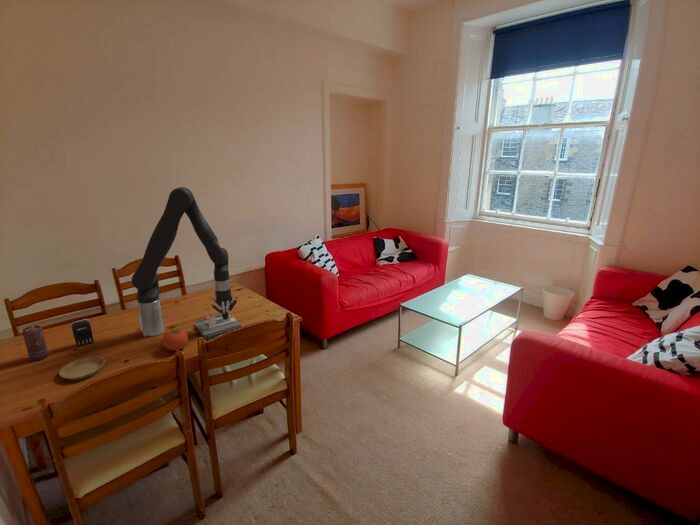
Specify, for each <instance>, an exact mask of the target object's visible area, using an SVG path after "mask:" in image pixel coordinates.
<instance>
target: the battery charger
mask: <svg viewBox="0 0 700 525" xmlns="http://www.w3.org/2000/svg"><path fill="white" fill-rule="evenodd" d="M71 330H72V331H71V332H72V336H73V338H74V341H75V346H77V347H80V346H86V345H90V344H92V343H94V341H95V339H94V335H93V329H92V324H91V321H90V320H89V319H87V318H84V319H81V320H76V321H73V322H72V323H71Z"/></svg>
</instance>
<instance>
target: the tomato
mask: <svg viewBox="0 0 700 525" xmlns="http://www.w3.org/2000/svg"><path fill="white" fill-rule="evenodd" d="M188 340H189V337H188V333H187V332H186V331H185V330H182V329H178V328H173V329H170V330H169V331H166V333H165V334H164V336H163V338H162V344H163V346H164V347H165V349H167V350H169V351H175V352H176V351H179V350H181V349H183V348H184V347H185V346H186V345H187V344H188ZM178 349H179V350H178Z"/></svg>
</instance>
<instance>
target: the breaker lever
mask: <svg viewBox="0 0 700 525" xmlns="http://www.w3.org/2000/svg"><path fill="white" fill-rule="evenodd" d="M206 319H207V323H208V325H209V327H210V326H213V325H216V317H215V315H214V314H213V313H209V314H207V315H206Z"/></svg>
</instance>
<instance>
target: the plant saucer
mask: <svg viewBox="0 0 700 525" xmlns="http://www.w3.org/2000/svg"><path fill="white" fill-rule="evenodd" d="M104 364H105V358H103V357H101V356H96V355H94V356H85V357H82V358H79V359H74V360H73V361H70V362H68V363H67V364H66V365H63V367H61V368H60V370H59V372H58V375H59V376H60V377H61V378H63V379H66V380H70V381H77V380H82V379H86V378H89V377H92V376H93V375H95V374H96V373H98V372H99V371H100V370H101V369H102V367H103V366H104Z"/></svg>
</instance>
